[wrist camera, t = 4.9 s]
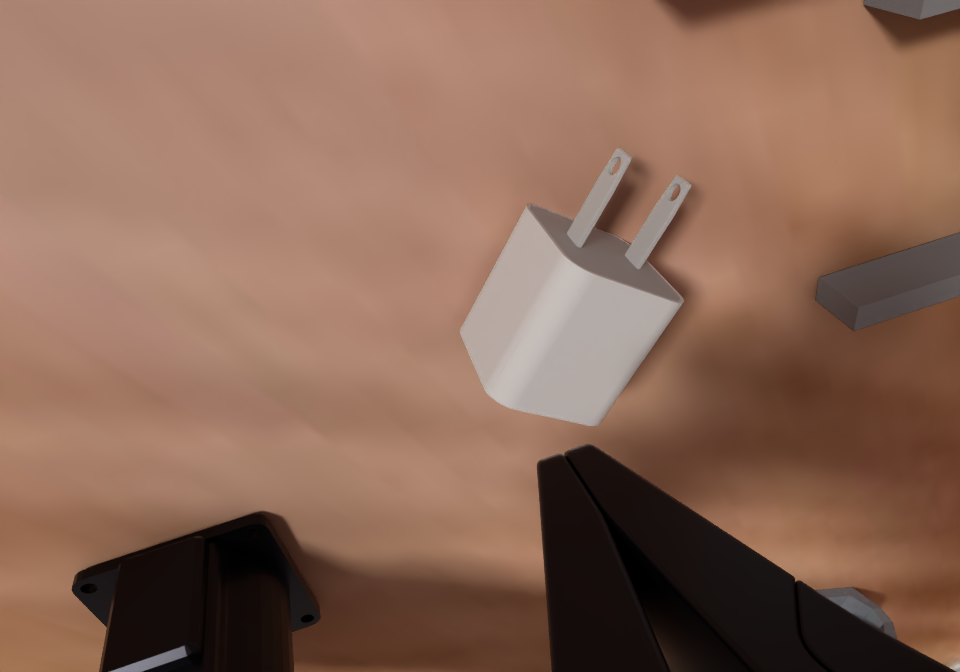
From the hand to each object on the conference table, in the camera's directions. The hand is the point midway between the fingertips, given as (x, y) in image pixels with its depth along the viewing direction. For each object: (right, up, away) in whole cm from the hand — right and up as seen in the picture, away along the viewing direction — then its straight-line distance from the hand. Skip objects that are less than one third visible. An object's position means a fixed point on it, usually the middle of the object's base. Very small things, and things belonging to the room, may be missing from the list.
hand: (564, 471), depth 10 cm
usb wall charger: (+1, +5, +11) cm, 12 cm away
